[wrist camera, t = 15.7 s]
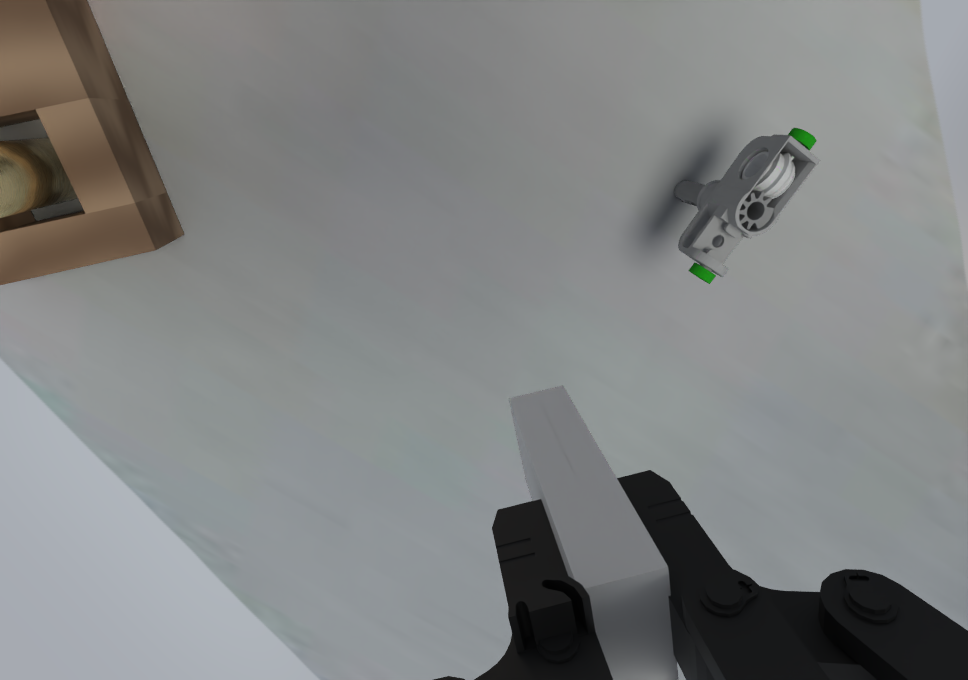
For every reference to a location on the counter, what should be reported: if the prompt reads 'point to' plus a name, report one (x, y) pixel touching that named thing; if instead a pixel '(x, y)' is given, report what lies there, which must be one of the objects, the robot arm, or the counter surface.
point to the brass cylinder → (31, 176)
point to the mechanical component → (744, 198)
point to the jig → (77, 144)
